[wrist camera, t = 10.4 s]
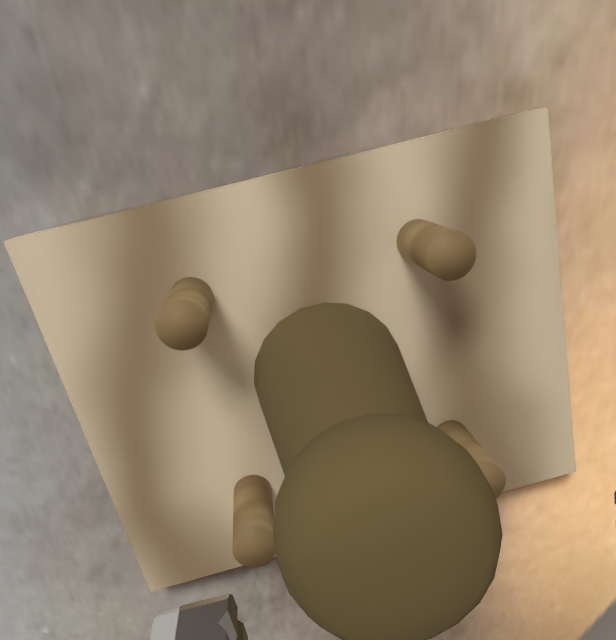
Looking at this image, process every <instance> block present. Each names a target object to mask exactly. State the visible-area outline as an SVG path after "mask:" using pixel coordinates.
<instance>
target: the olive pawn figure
mask: <svg viewBox="0 0 616 640" xmlns="http://www.w3.org/2000/svg"><path fill="white" fill-rule="evenodd" d="M254 386H255V389H256V392H257V396H258V399H259V403H260V406H261V409H262V411H263V414H264V417H265V420H266V423H267V426H268V429H269V432H270V435H271V438H272V440H273V443H274V446H275V449H276V452H277V455H278V458H279V461H280V464H281V467H282V469H283V472H284V475H285V478H284V480H283V482H282V484H281V487H280V489H279V492H278V495H277V498H276V501H275V511H274V525H273V544H274V552H275V555H276V558H277V561H278V564H279V567H280V571H281V574H282V577H283V579H284V582H285V584H286V586H287V589H288V591H289V594H290V595H291V596H292V597H293V598H294V600H295V601H296V602H297V603H298V605H299V606H300V607H301V608H302V609H303V611H304V612H305V613H306V614H307V616H308V617H310V618H311V619H312V620H313V621H314V622H315V623H316V624H318V625H319V626H320V627H322V628H323V629H325V630H327V631H328V632H330V633H332V634H333V635H335V636H337V637H338V638H340V639H342V640H427V639H430V638H433V637H435V636H436V635H438V634H440V633H442V632H443V631H445V630H447V629H449V628H451V627H452V626H454V625H456V624H458V623H459V622H460V621H461V620H462V619H463V618H464V617H465V616H466V615H467V614H468V613H469V612H470V611H471V610H472V609H474V608H475V607H476V606H477V605H478V604H479V603H480V601H481V600H482V598H483V596H484V594H485V593H486V591H487V589H488V588H489V586H490V584H491V582H492V581H493V579H494V576H495V572H496V567H497V562H498V558H499V553H500V547H501V540H502V530H501V523H500V516H499V510H498V505H497V502H496V498H495V495H494V492H493V489H492V487H491V486H490V484H489V482H488V481H487V479H486V477H485V475H484V474H483V472H482V470H481V469H480V467H479V465H478V464H477V462H476V461H475V460H474V458H473V457H472V456H471V455H470V453H469V452H468V451H467V450H466V449H465V448H464V447H462V446H461V445H460V444H459V443H457V442H456V441H455V440H454V439H452V438H451V437H450V436H449V435H447V434H446V433H445V432H444V431H442V430H440V429H439V428H437V427H435V426H433V425H432V424H430V423H428V421H427V418H426V416H425V413H424V411H423V408H422V405H421V403H420V400H419V398H418V395H417V393H416V390H415V388H414V385H413V383H412V380H411V377H410V375H409V372H408V370H407V367H406V365H405V362H404V360H403V357H402V355H401V352H400V349H399V347H398V345H397V343H396V341H395V340H394V338H393V336H392V335H391V333H390V331H389V330H388V328H387V326H386V325H384V324H383V323H382V322H381V321H380V320H378V319H377V318H376V317H375V316H373V315H372V314H371V313H370V312H368V311H365V310H363V309H360V308H357V307H355V306H352V305H350V304H344V303H324V302H323V303H320V304H316V305H312V306H308V307H304V308H300V309H298V310H297V311H295V312H294V313H292V314H290V315H289V316H287V317H286V318H284V319H282V320H281V321H279V322H278V323H277V325H276V326H275V327H274V328H273V329H272V330H271V332H270V333H269V334H268V335H267V336H266V337H265V339H264V340H263V342H262V345H261V347H260V350H259V352H258V355H257V357H256V360H255V370H254Z"/></svg>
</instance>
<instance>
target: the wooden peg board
mask: <svg viewBox="0 0 616 640" xmlns="http://www.w3.org/2000/svg"><path fill="white" fill-rule="evenodd" d="M4 244H5V246H6V249H7V251H8V253H9V256H10V258H11V260H12V263H13V265H14V268H15V270H16V272H17V275H18V277H19V279H20V282H21V284H22V287H23V289H24V291H25V294H26V296H27V298H28V301H29V303H30V306H31V308H32V310H33V313H34V315H35V317H36V320H37V322H38V325H39V327H40V329H41V332H42V334H43V337H44V339H45V341H46V344H47V346H48V348H49V351H50V353H51V356H52V358H53V360H54V363H55V365H56V367H57V370H58V372H59V375H60V377H61V379H62V382H63V384H64V386H65V389H66V391H67V394H68V396H69V398H70V401H71V403H72V405H73V408H74V410H75V413H76V415H77V417H78V420H79V422H80V424H81V427H82V429H83V432H84V434H85V436H86V439H87V441H88V443H89V446H90V448H91V451H92V453H93V455H94V458H95V460H96V463H97V465H98V467H99V470H100V472H101V474H102V477H103V479H104V482H105V484H106V486H107V489H108V491H109V493H110V496H111V498H112V501H113V503H114V505H115V508H116V510H117V512H118V515H119V517H120V520H121V522H122V524H123V527H124V529H125V531H126V534H127V536H128V539H129V541H130V543H131V546H132V548H133V550H134V553H135V555H136V558H137V560H138V562H139V565H140V567H141V569H142V572H143V574H144V577H145V579H146V581H147V584H148V586H149V589H150V591H151V592H152V591H155V590H159V589H162V588H166V587H169V586H173V585H177V584H180V583H184V582H187V581H191V580H194V579H198V578H201V577H205V576H208V575H212V574H215V573H219V572H223V571H226V570H230V569H233V568H237V567H240V566H246V567H260V566H263V565H265V564H267V563H269V562H270V561H271V560H272V559H273V558H274V557H276V555H275V552H274V544H273V525H274V511H275V501H276V498H277V495H278V492H279V489H280V487H281V484H282V482H283V480H284V478H285V475H284V472H283V469H282V467H281V464H280V461H279V458H278V455H277V452H276V449H275V446H274V443H273V440H272V438H271V435H270V432H269V429H268V426H267V423H266V420H265V417H264V414H263V411H262V409H261V406H260V403H259V399H258V396H257V392H256V389H255V386H254V370H255V360H256V357H257V355H258V352H259V350H260V347H261V345H262V342H263V340H264V339H265V337H266V336H267V335H268V334H269V333H270V332H271V330H272V329H273V328H274V327H275V326H276V325H277V323H278V322H279V321H281V320H282V319H284V318H286V317H287V316H289V315H290V314H292V313H294V312H295V311H297V310H298V309H300V308H304V307H308V306H312V305H316V304H320V303H323V302H324V303H344V304H350V305H352V306H355V307H357V308H360V309H363V310H365V311H368V312H370V313H371V314H372V315H373V316H375V317H376V318H377V319H378V320H380V321H381V322H382V323H383V324H384V325H386V326H387V328H388V330H389V331H390V333H391V335H392V336H393V338H394V340H395V341H396V343H397V345H398V347H399V349H400V352H401V355H402V357H403V360H404V362H405V365H406V367H407V370H408V372H409V375H410V377H411V380H412V383H413V385H414V388H415V390H416V393H417V395H418V398H419V400H420V403H421V405H422V408H423V411H424V413H425V416H426V418H427V421H428V423H430V424H432V425H433V426H435V427H437V428H439V429H440V430H442V431H444V432H445V433H446V434H447V435H449V436H450V437H451V438H452V439H454V440H455V441H456V442H457V443H459V444H460V445H461V446H462V447H464V448H465V449H466V450H467V451H468V452H469V453H470V455H471V456H472V457H473V458H474V460H475V461H476V462H477V464H478V465H479V467H480V469H481V470H482V472H483V474H484V475H485V477H486V479H487V481H488V482H489V484H490V486H491V487H492V489H493V492H494V495H495V498H497V497H498V496H499V495H500V494H501V493H502V492H505V491H509V490H512V489H516V488H519V487H523V486H526V485H530V484H534V483H537V482H541V481H544V480H548V479H551V478H555V477H558V476H562V475H565V474H569V473H572V472H576V465H575V452H574V439H573V426H572V413H571V401H570V388H569V375H568V362H567V349H566V337H565V324H564V311H563V298H562V285H561V273H560V260H559V247H558V234H557V221H556V209H555V196H554V183H553V170H552V157H551V145H550V132H549V119H548V107H546V108H540V109H535V110H529V111H525V112H521V113H517V114H513V115H509V116H505V117H501V118H497V119H493V120H489V121H485V122H481V123H476V124H472V125H468V126H464V127H460V128H456V129H452V130H448V131H444V132H440V133H436V134H432V135H428V136H424V137H420V138H416V139H412V140H407V141H403V142H399V143H395V144H391V145H387V146H383V147H379V148H375V149H371V150H367V151H363V152H359V153H355V154H351V155H347V156H343V157H338V158H334V159H330V160H326V161H322V162H318V163H314V164H310V165H306V166H302V167H298V168H294V169H290V170H286V171H282V172H278V173H274V174H269V175H265V176H261V177H257V178H253V179H249V180H245V181H241V182H237V183H233V184H229V185H225V186H221V187H217V188H213V189H209V190H205V191H200V192H196V193H192V194H188V195H184V196H180V197H176V198H172V199H168V200H164V201H160V202H156V203H152V204H148V205H144V206H140V207H136V208H132V209H127V210H123V211H119V212H115V213H111V214H107V215H103V216H99V217H95V218H91V219H87V220H83V221H79V222H75V223H71V224H67V225H63V226H58V227H54V228H50V229H46V230H42V231H38V232H34V233H30V234H26V235H22V236H18V237H15V238H12V239H9V240H6V241H4Z"/></svg>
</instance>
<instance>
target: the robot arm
mask: <svg viewBox="0 0 616 640" xmlns="http://www.w3.org/2000/svg"><path fill="white" fill-rule="evenodd" d="M614 495H615V504H616V491H615V493H614ZM150 640H248V636H247V632H246V630H245V627H244V624H243V623H242V622H240V621H238V620H237V605H236V602H235V600H234V597H233V595H231V594H227V595H223V596H219V597H214V598H210V599H206V600H202V601H198V602H194V603H190V604H186V605H182V606H181V607H176V608H172V609H168V610H164V611H160V612H158V613H157V615H156V616H155V618H154V620H153V625H152V630H151V635H150Z"/></svg>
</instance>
